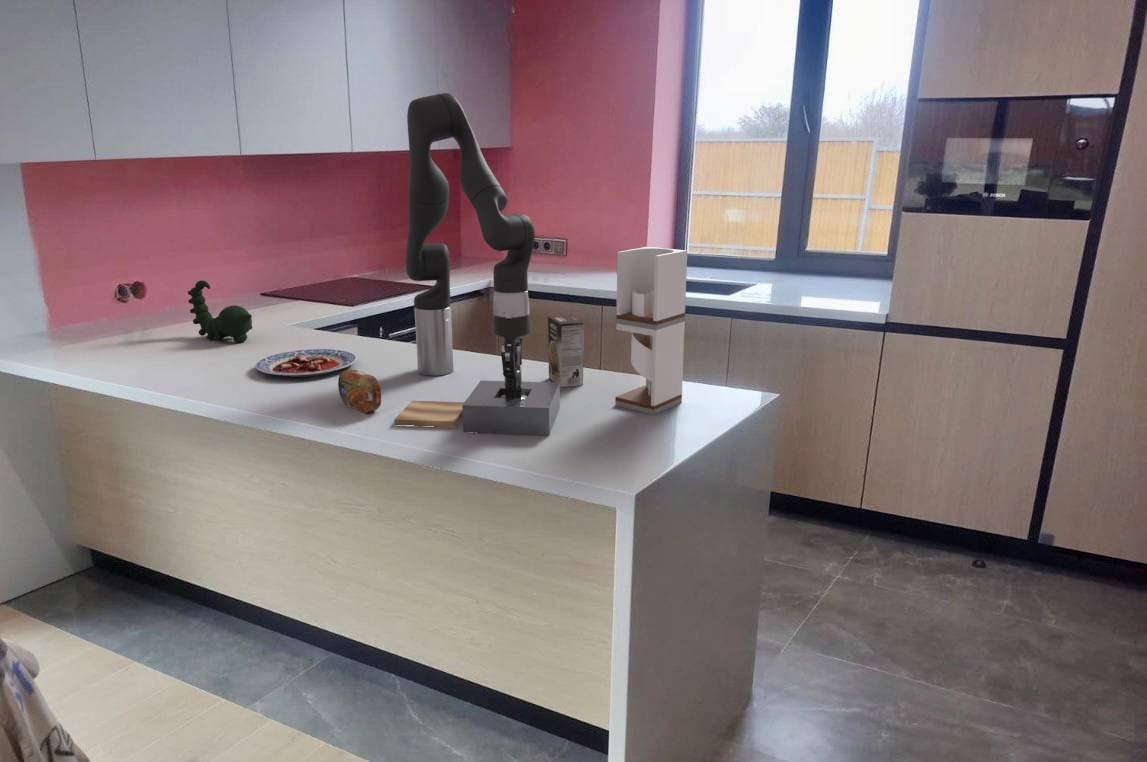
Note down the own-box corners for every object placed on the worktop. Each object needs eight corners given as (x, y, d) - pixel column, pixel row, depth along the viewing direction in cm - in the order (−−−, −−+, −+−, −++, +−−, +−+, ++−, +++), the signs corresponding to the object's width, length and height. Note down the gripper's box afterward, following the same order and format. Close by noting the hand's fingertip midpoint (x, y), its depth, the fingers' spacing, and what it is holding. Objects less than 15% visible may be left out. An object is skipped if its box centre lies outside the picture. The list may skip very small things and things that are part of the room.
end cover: (502, 406, 179) (501, 366, 176) (529, 406, 178) (528, 367, 176) (497, 414, 173) (496, 374, 170) (525, 415, 173) (524, 375, 170)
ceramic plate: (328, 385, 202) (327, 373, 201) (235, 379, 207) (234, 368, 206) (373, 359, 226) (372, 348, 225) (289, 354, 231) (288, 344, 230)
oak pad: (412, 406, 185) (412, 400, 184) (468, 408, 184) (468, 402, 183) (394, 426, 172) (394, 419, 172) (454, 428, 171) (454, 421, 171)
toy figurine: (188, 344, 249) (243, 346, 237) (176, 282, 244) (231, 282, 232) (214, 338, 257) (269, 339, 245) (203, 278, 252) (258, 277, 240)
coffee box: (547, 378, 207) (547, 316, 202) (571, 375, 209) (571, 314, 205) (559, 387, 199) (559, 323, 194) (584, 385, 201) (584, 321, 196)
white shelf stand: (643, 393, 194) (647, 246, 184) (681, 402, 188) (687, 250, 178) (615, 405, 186) (617, 251, 176) (653, 414, 179) (658, 256, 169)
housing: (481, 405, 186) (480, 380, 184) (559, 407, 184) (559, 382, 182) (463, 432, 168) (462, 405, 167) (549, 435, 167) (549, 407, 165)
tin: (338, 402, 189) (335, 367, 186) (350, 399, 191) (347, 364, 188) (372, 417, 178) (370, 380, 176) (385, 413, 180) (382, 377, 178)
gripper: (499, 304, 176) (501, 380, 181) (487, 318, 163) (490, 400, 168) (533, 305, 176) (534, 381, 181) (524, 319, 162) (526, 401, 167)
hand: (513, 390), depth 174 cm, fingers closed on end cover, 3 cm apart
